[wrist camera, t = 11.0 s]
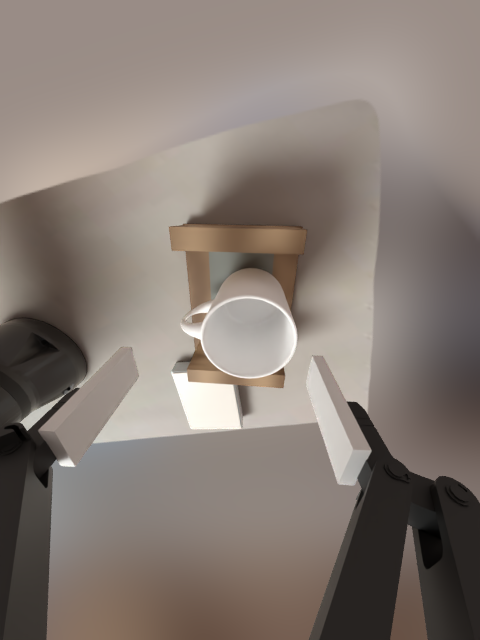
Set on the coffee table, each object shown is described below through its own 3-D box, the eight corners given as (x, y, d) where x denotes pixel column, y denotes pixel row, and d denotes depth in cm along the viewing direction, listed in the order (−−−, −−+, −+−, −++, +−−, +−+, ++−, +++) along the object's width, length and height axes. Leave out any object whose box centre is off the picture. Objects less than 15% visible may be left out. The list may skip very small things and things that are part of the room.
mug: (189, 270, 27) (151, 299, 17) (284, 264, 25) (300, 292, 16) (200, 328, 30) (174, 379, 21) (282, 325, 29) (295, 378, 20)
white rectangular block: (194, 417, 42) (190, 429, 39) (176, 362, 35) (170, 372, 33) (243, 416, 40) (242, 429, 38) (233, 359, 34) (231, 369, 32)
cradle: (197, 345, 34) (180, 381, 26) (186, 223, 25) (157, 226, 18) (283, 350, 33) (291, 388, 25) (300, 226, 25) (319, 230, 17)
